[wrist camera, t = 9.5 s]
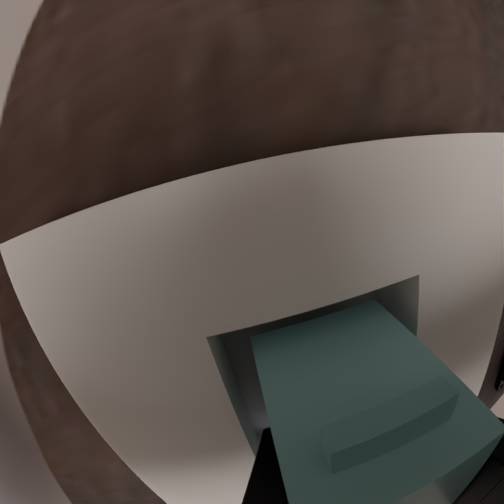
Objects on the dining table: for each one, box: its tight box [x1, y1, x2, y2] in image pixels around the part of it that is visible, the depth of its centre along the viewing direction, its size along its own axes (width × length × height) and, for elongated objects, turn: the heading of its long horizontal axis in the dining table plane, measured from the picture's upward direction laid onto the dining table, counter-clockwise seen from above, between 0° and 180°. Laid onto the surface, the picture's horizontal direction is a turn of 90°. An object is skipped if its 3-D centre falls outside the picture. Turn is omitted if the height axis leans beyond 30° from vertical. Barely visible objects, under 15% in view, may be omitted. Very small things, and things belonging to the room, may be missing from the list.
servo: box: [250, 299, 504, 504], centre depth 6 cm, size 4×7×7 cm, turn 13°
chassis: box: [0, 133, 504, 504], centre depth 10 cm, size 16×15×3 cm
